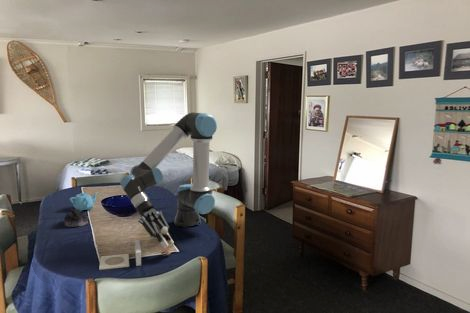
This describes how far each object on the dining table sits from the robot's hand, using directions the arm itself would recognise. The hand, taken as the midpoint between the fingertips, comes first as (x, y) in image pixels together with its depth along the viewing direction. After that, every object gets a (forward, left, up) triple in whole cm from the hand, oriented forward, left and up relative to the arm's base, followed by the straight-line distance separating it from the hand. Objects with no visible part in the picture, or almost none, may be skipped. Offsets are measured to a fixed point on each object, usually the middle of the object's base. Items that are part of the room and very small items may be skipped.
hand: (169, 245), depth 161 cm
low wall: (+14, -2, -6) cm, 15 cm away
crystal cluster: (+45, -56, -6) cm, 73 cm away
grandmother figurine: (+2, -2, -5) cm, 6 cm away
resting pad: (+24, -1, -6) cm, 24 cm away
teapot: (+43, -83, -6) cm, 94 cm away
